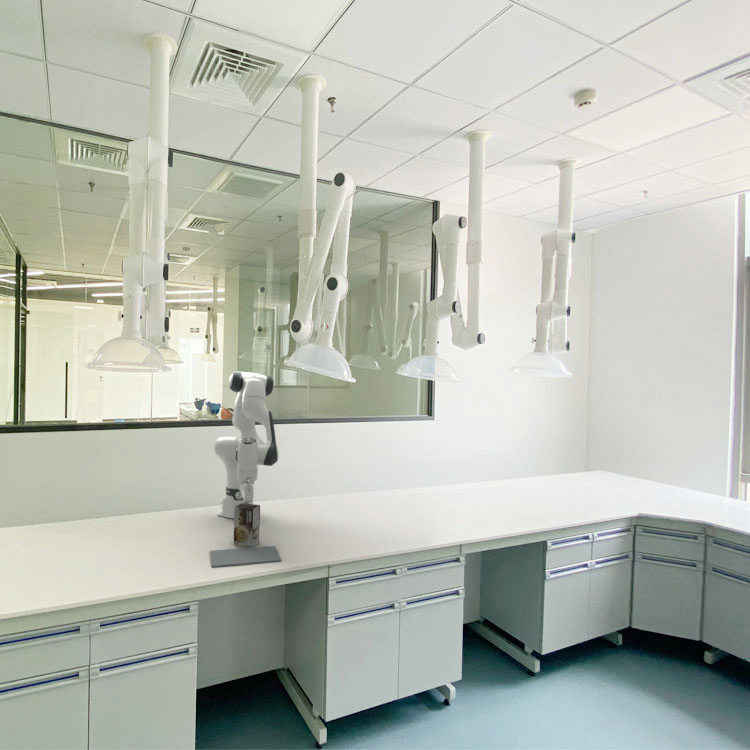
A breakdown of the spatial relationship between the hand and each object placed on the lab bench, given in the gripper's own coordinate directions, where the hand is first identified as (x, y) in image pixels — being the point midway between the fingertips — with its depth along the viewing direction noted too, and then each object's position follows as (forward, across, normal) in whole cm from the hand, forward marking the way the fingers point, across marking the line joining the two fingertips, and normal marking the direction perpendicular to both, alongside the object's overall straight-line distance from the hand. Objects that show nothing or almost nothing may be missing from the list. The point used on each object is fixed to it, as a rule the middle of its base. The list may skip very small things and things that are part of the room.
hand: (245, 507), depth 226 cm
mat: (+13, -23, +2) cm, 26 cm away
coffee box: (+14, -8, 0) cm, 16 cm away
